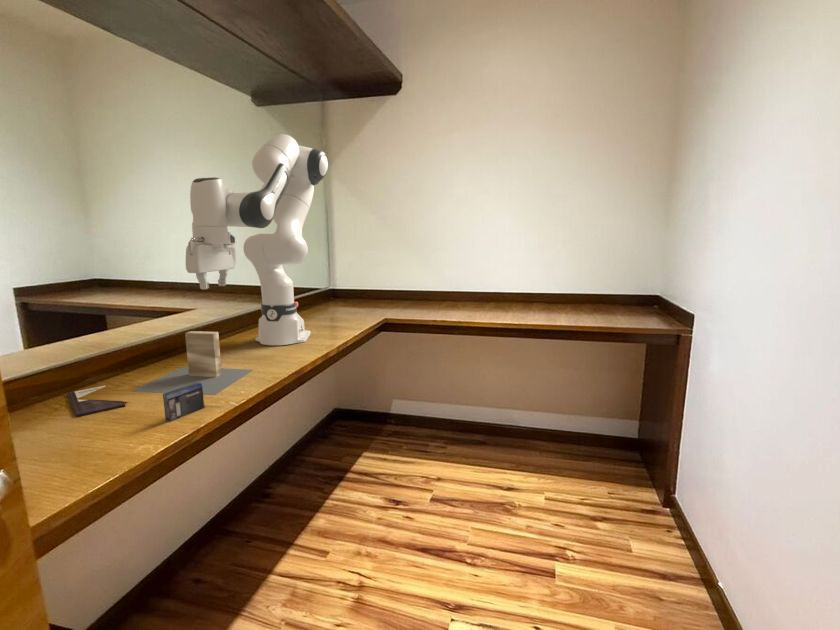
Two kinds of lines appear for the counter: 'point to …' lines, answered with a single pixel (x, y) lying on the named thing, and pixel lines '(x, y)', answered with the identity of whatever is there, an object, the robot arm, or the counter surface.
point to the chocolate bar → (91, 403)
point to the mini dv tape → (183, 401)
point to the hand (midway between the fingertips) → (213, 287)
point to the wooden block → (203, 353)
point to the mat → (193, 381)
